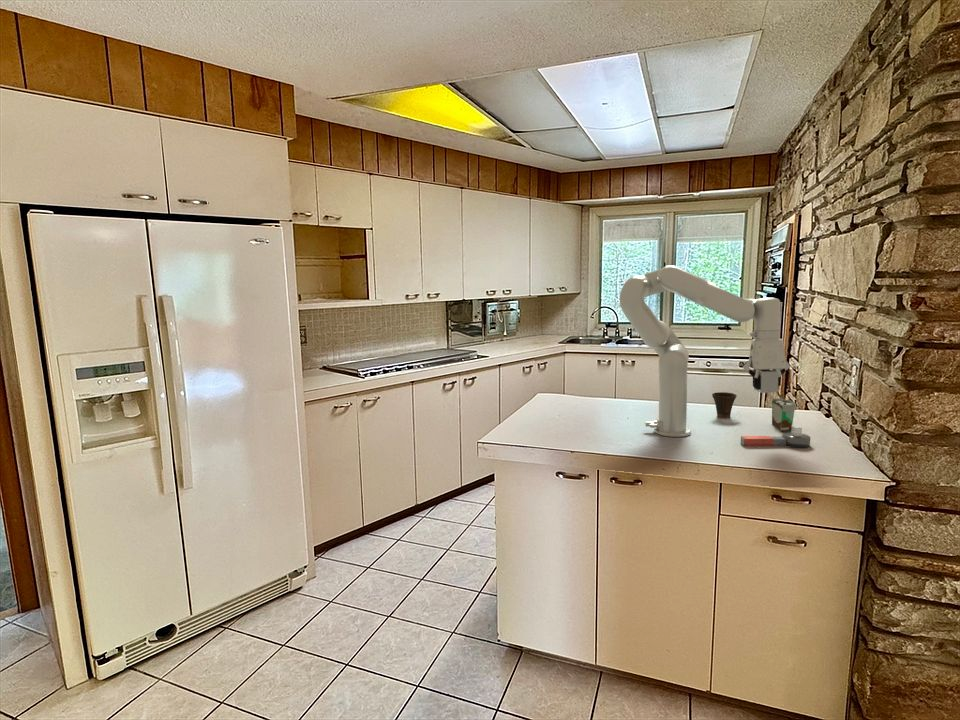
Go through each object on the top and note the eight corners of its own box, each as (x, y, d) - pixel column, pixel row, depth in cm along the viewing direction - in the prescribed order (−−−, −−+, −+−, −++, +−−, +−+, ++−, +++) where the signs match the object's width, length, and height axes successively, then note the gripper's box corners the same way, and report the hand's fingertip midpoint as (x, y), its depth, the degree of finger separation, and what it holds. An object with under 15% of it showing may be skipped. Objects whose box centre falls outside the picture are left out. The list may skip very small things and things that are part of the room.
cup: (728, 420, 206) (726, 394, 206) (708, 418, 214) (706, 393, 214) (743, 417, 210) (741, 392, 210) (723, 416, 218) (721, 391, 218)
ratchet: (746, 448, 175) (747, 430, 174) (737, 441, 183) (738, 423, 182) (814, 448, 173) (815, 429, 172) (802, 441, 180) (803, 423, 180)
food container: (800, 433, 188) (802, 406, 187) (781, 433, 190) (783, 405, 188) (788, 424, 200) (789, 398, 199) (770, 424, 202) (771, 398, 200)
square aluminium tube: (761, 392, 179) (761, 372, 178) (754, 389, 184) (754, 369, 183) (777, 392, 178) (778, 371, 177) (770, 389, 183) (771, 368, 182)
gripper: (744, 337, 175) (744, 391, 178) (799, 335, 174) (798, 389, 176) (735, 335, 183) (735, 387, 185) (788, 332, 181) (787, 385, 184)
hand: (766, 388), depth 181 cm, fingers closed on square aluminium tube, 5 cm apart
